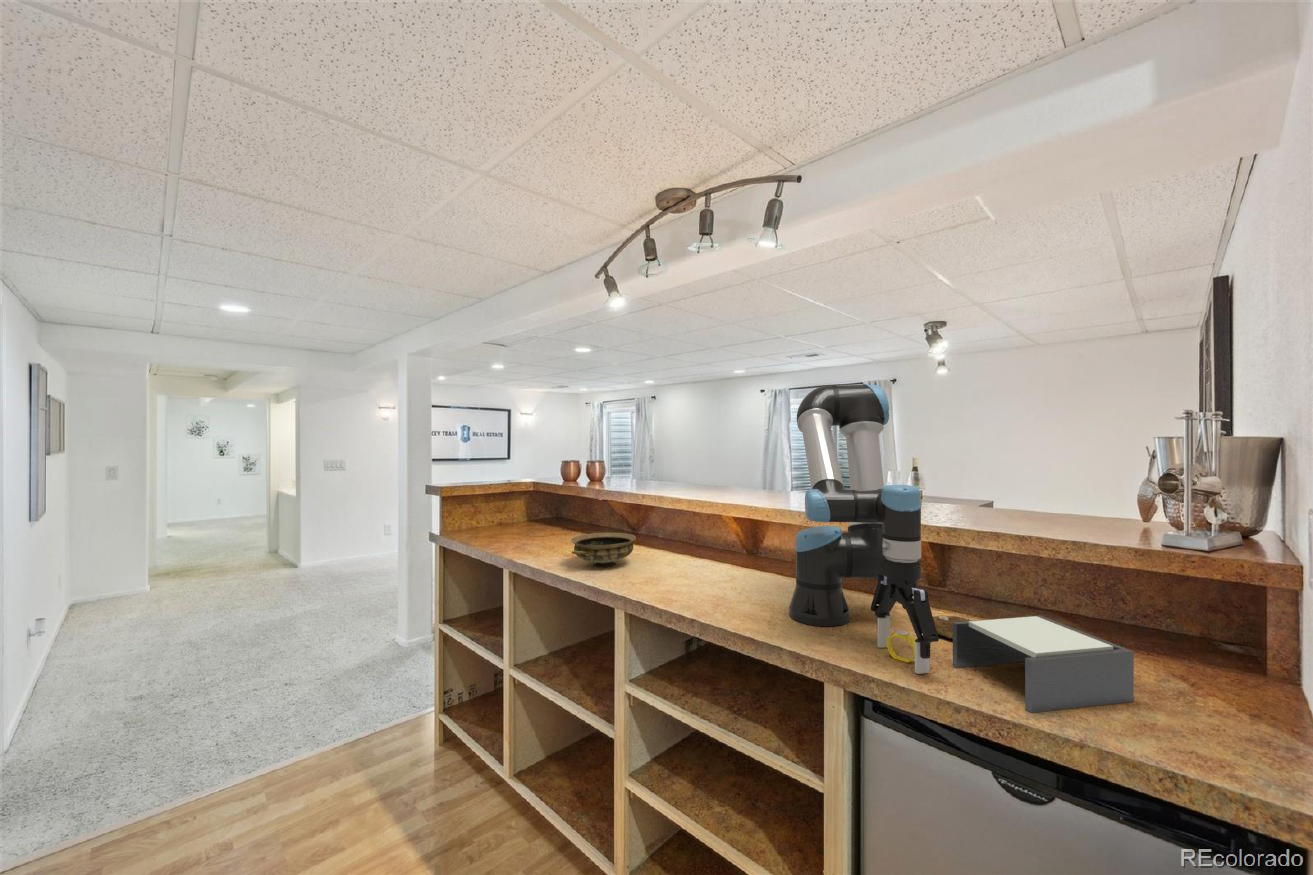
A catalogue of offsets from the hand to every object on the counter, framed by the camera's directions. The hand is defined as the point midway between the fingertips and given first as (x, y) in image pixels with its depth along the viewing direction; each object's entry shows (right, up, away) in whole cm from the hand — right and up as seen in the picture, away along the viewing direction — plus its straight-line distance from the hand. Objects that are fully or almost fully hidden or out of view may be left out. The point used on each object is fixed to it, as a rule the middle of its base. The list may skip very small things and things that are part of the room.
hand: (902, 659), depth 114 cm
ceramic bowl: (-72, 0, +84) cm, 111 cm away
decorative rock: (+19, 0, +13) cm, 24 cm away
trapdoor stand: (+21, 0, -11) cm, 24 cm away
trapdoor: (+21, +9, -11) cm, 25 cm away
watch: (0, 0, 0) cm, 0 cm away
